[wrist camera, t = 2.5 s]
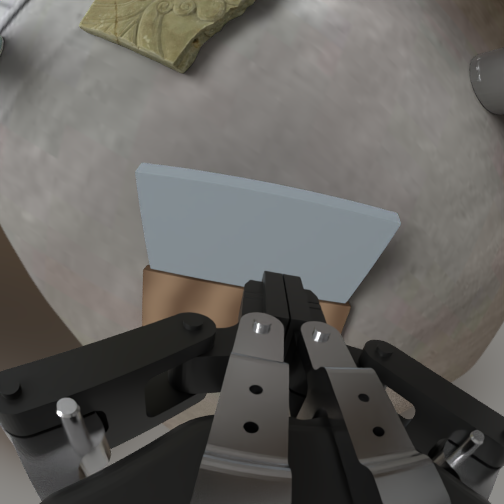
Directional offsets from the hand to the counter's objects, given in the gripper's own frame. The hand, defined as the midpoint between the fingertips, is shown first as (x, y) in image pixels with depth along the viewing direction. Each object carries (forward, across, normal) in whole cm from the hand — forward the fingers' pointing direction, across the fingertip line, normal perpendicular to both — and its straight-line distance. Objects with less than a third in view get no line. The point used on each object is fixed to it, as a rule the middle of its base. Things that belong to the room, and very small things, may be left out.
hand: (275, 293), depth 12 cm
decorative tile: (+23, +15, -25) cm, 37 cm away
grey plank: (+18, 0, +3) cm, 18 cm away
